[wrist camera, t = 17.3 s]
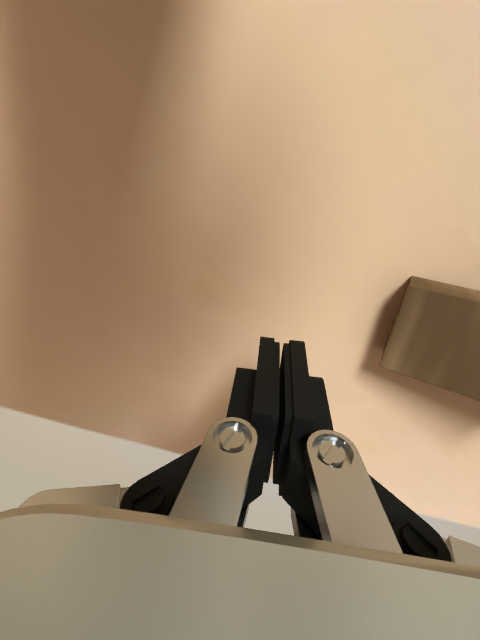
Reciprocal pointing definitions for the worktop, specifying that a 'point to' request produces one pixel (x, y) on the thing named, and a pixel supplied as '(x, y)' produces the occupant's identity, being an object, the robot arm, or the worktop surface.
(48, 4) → the worktop surface
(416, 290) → the domino
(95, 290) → the worktop surface
